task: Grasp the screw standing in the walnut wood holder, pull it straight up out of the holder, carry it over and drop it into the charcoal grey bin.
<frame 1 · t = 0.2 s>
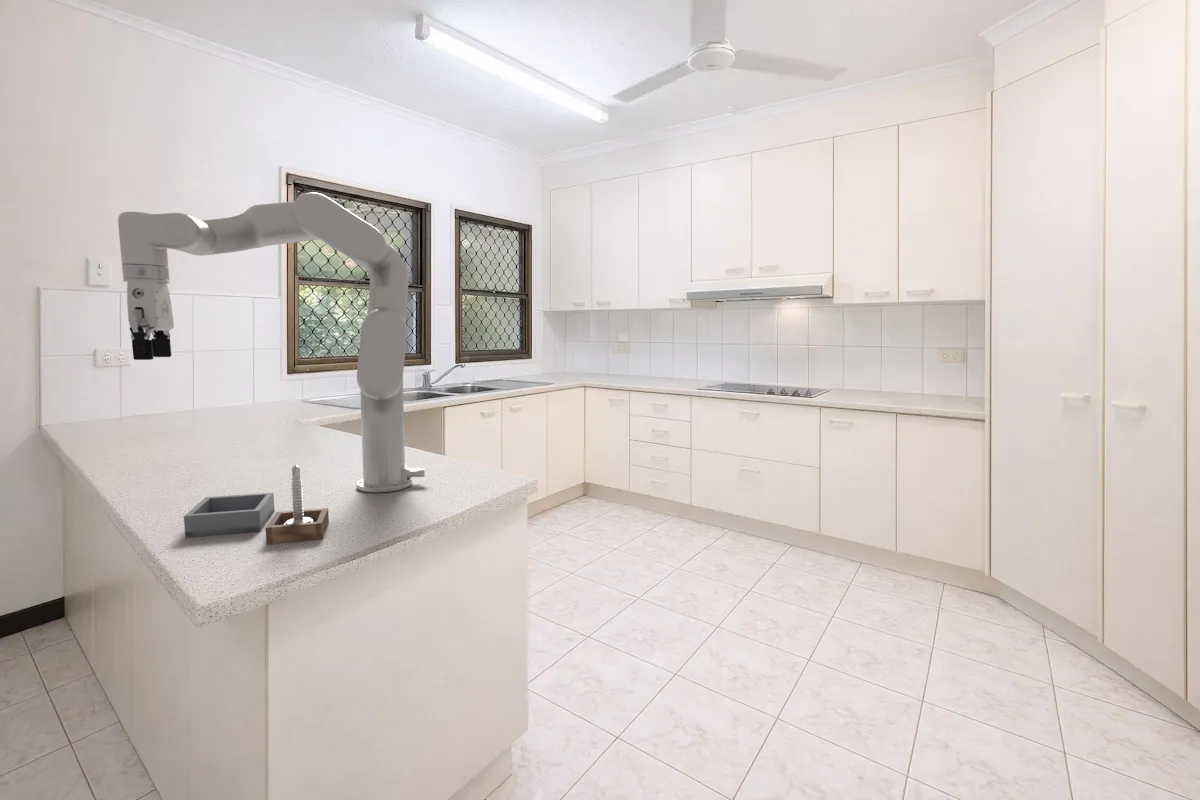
hand: (153, 358, 120), 31 cm above the countertop, fingers open, 9 cm apart
holder: (299, 532, 107), on the countertop
screw: (299, 533, 107), resting in holder
bin: (233, 523, 111), on the countertop
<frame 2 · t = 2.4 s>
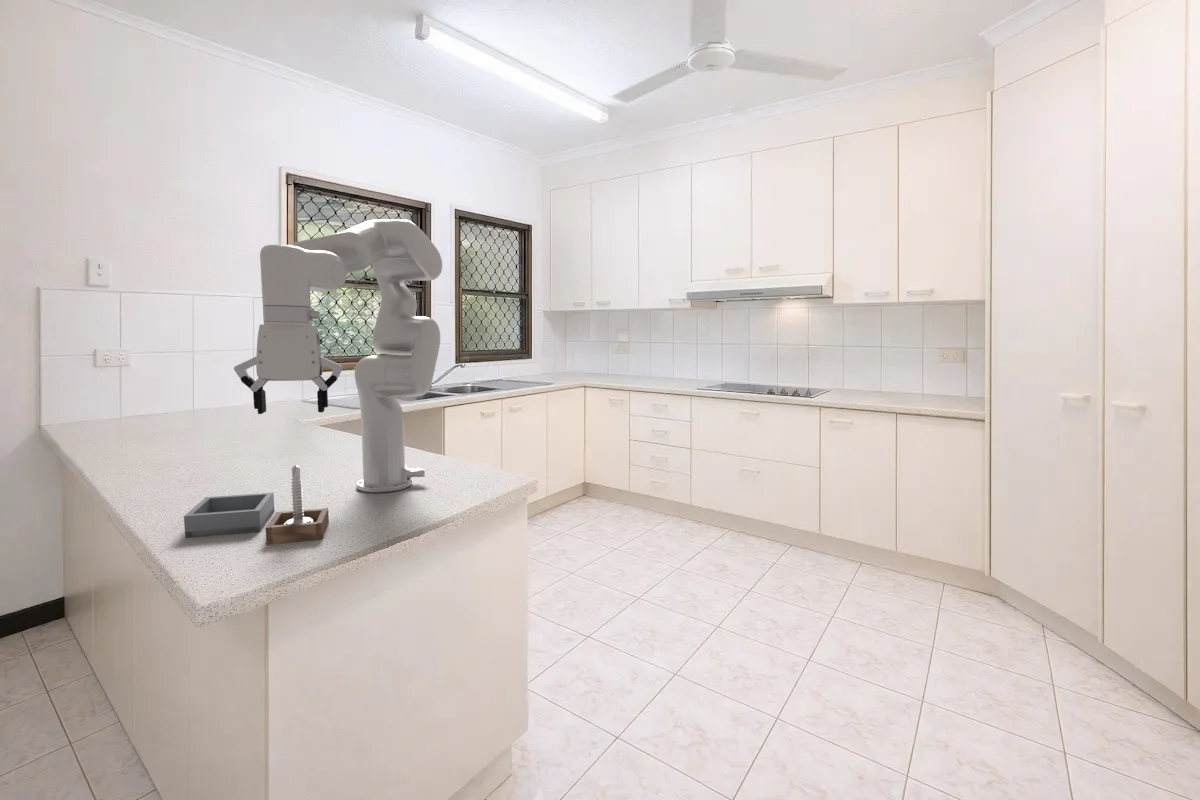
hand: (292, 412, 103), 23 cm above the countertop, fingers open, 9 cm apart
nothing on the countertop moved.
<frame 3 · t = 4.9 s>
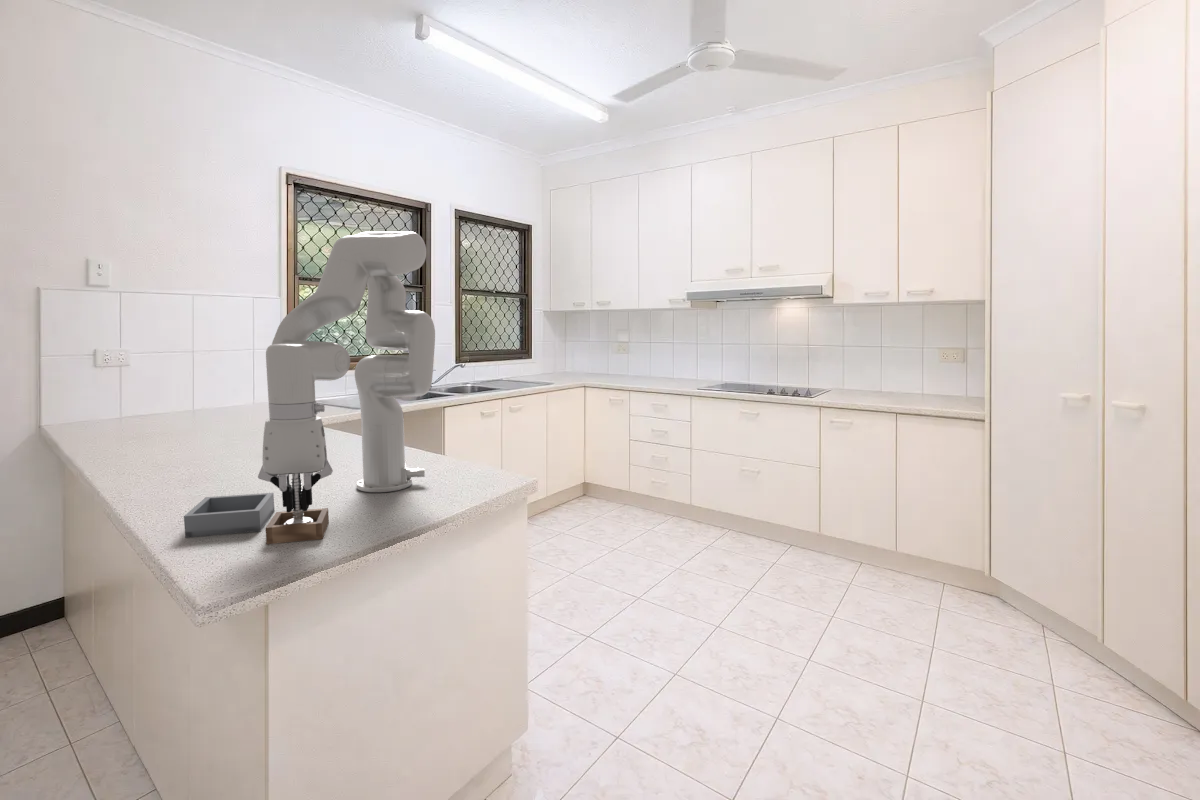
hand: (298, 508, 106), 5 cm above the countertop, fingers closed on screw, 2 cm apart
screw: (299, 533, 107), resting in holder, touching gripper
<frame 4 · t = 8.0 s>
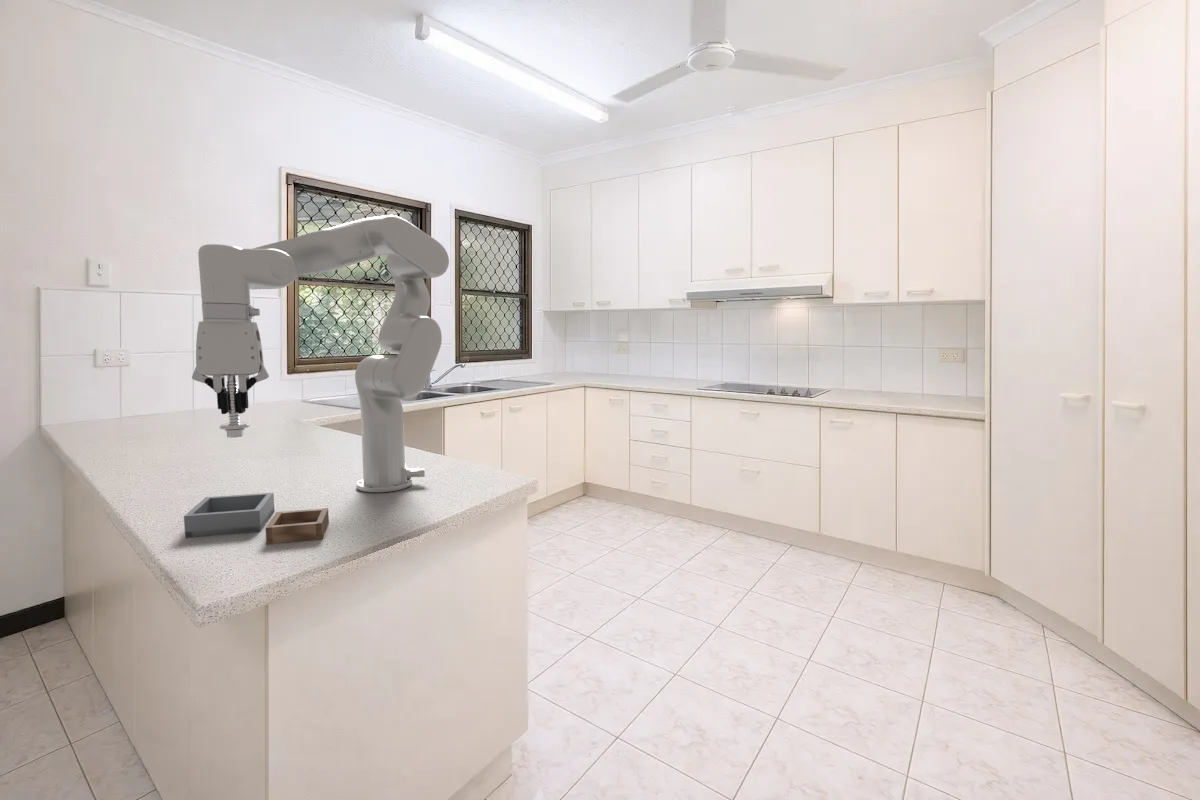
hand: (233, 412, 107), 22 cm above the countertop, fingers closed on screw
screw: (235, 437, 108), point 17 cm above the countertop, touching gripper
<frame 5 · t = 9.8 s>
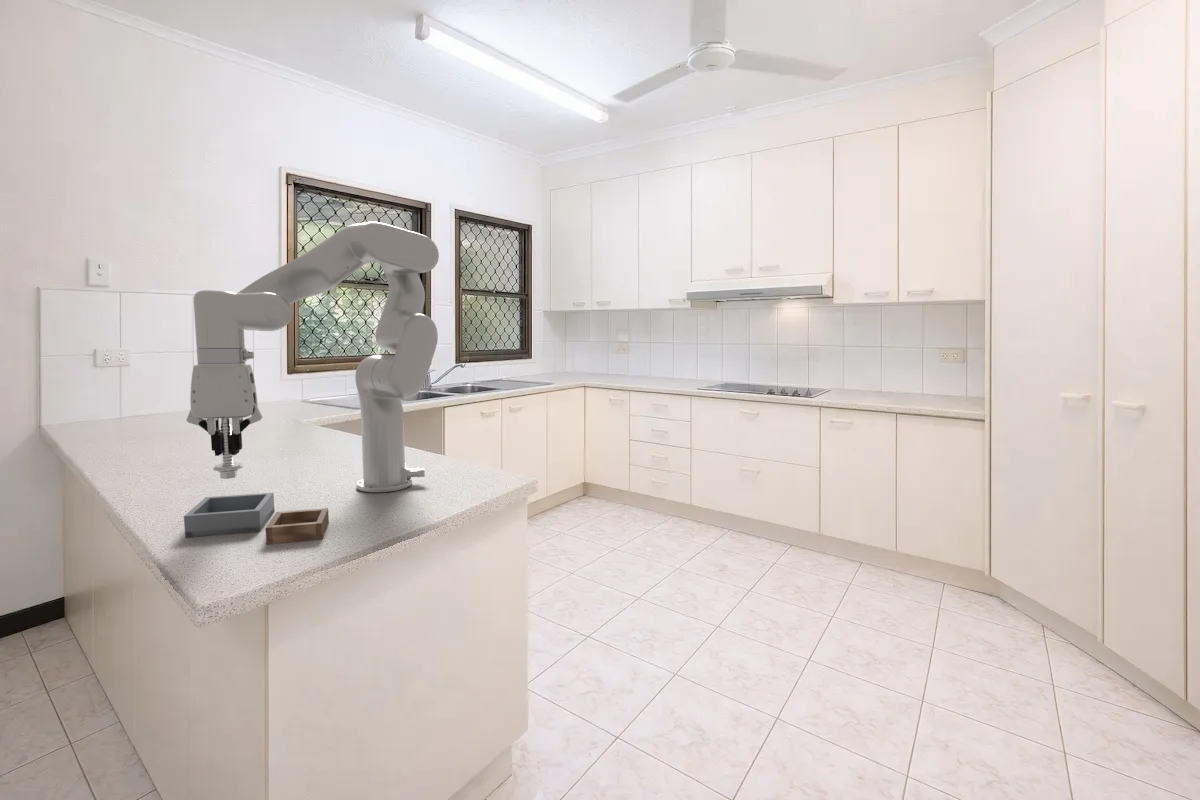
hand: (227, 453, 109), 14 cm above the countertop, fingers closed on screw
screw: (228, 478, 109), point 9 cm above the countertop, touching gripper
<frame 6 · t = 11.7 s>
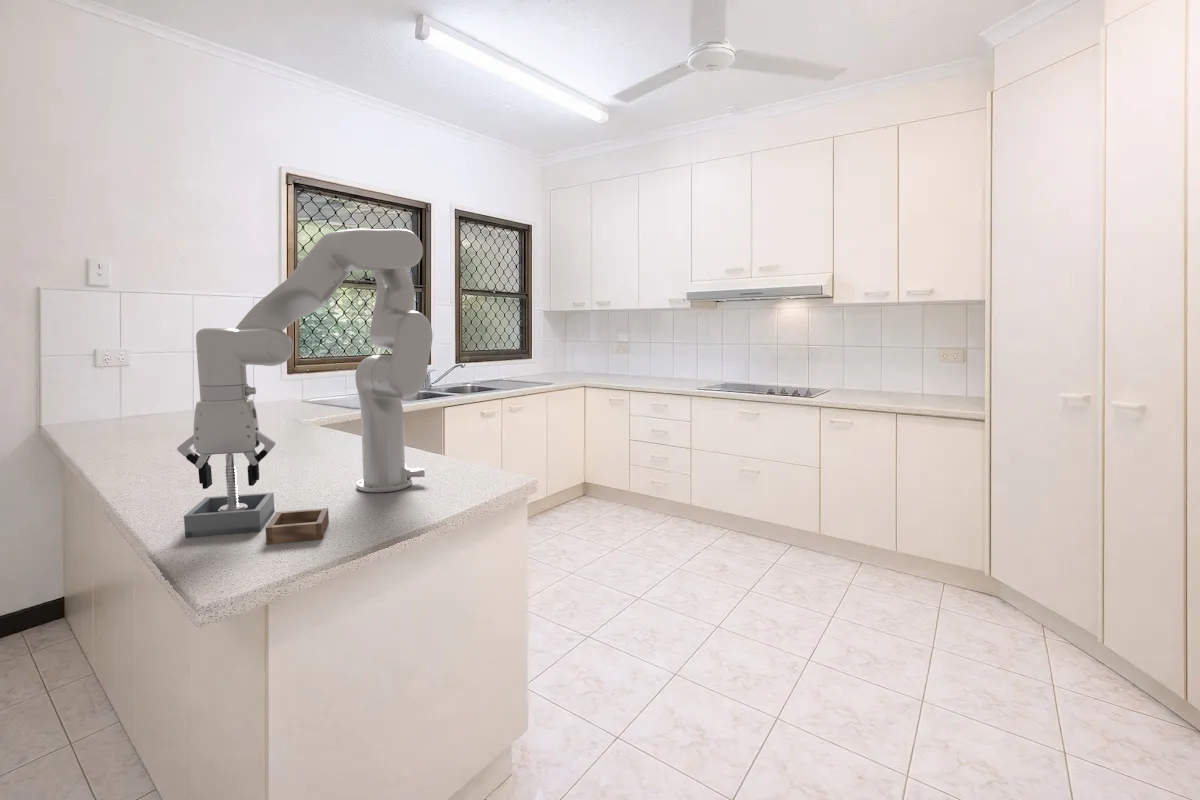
hand: (230, 484, 110), 8 cm above the countertop, fingers open, 7 cm apart
screw: (233, 519, 111), point 1 cm above the countertop, touching bin
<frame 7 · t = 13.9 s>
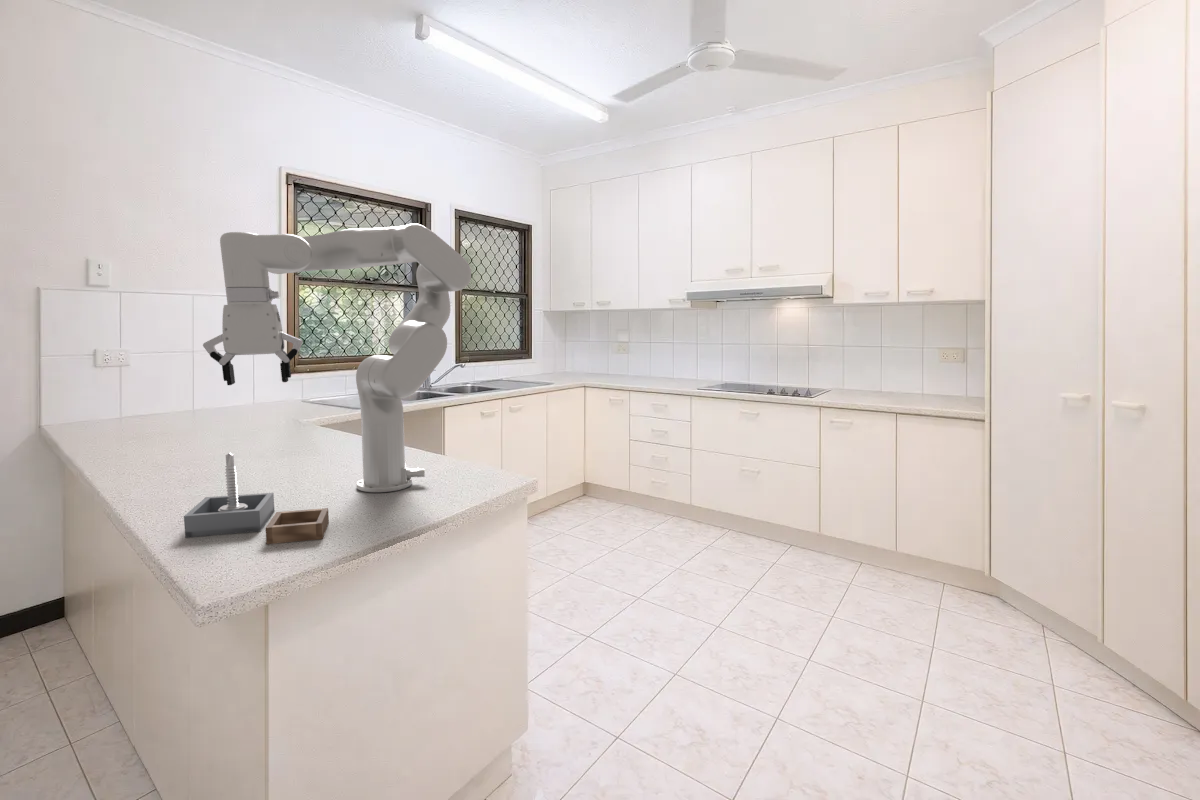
hand: (258, 382, 116), 27 cm above the countertop, fingers open, 9 cm apart
nothing on the countertop moved.
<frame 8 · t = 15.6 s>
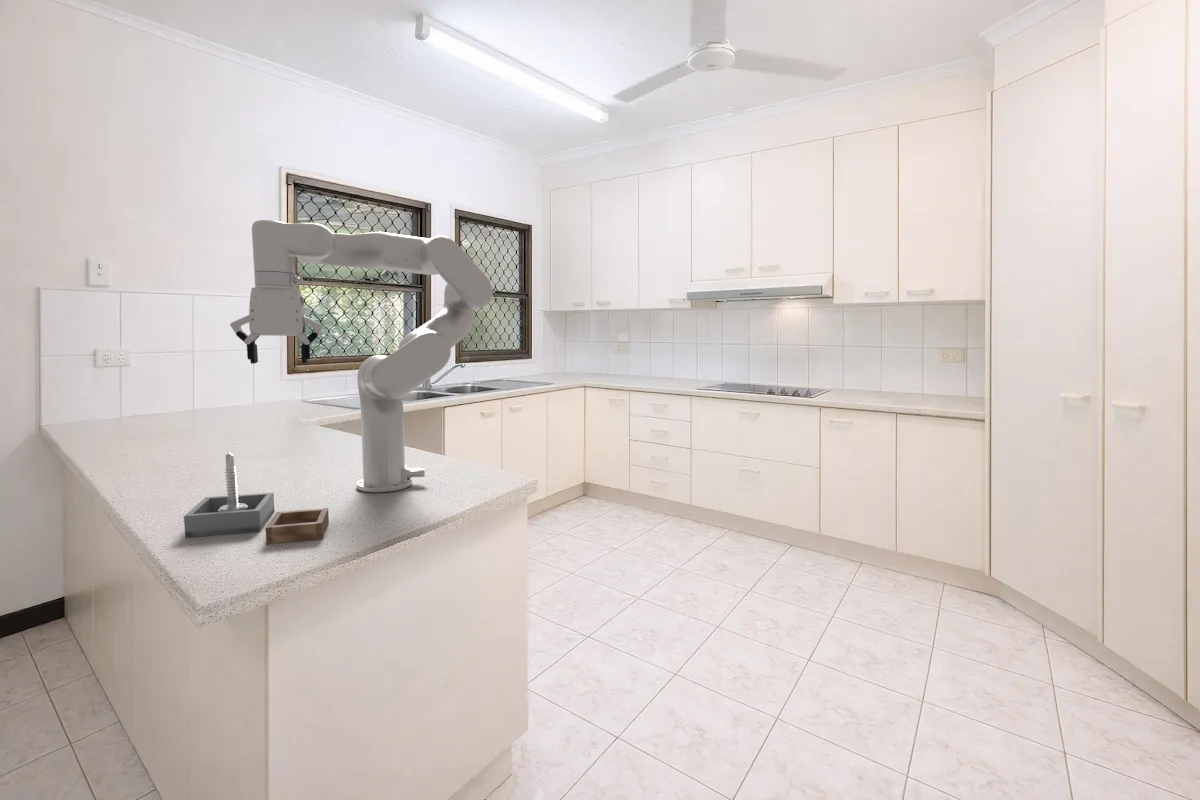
hand: (279, 363, 122), 30 cm above the countertop, fingers open, 9 cm apart
nothing on the countertop moved.
at the end: screw inside the target area on the bin (0.2 cm from its centre), point 0.8 cm above the bin's base; the gripper is holding nothing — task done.
